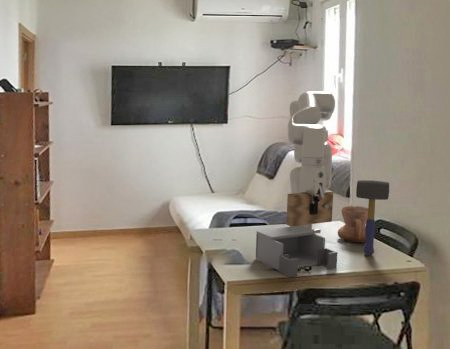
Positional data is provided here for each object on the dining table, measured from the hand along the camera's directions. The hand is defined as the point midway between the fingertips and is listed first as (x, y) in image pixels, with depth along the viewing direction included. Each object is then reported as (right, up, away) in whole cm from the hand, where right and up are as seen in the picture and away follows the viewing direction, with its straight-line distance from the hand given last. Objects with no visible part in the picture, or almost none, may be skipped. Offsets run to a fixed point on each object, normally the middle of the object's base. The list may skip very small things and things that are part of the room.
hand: (310, 212), depth 201 cm
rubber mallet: (+27, -19, +23) cm, 40 cm away
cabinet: (-4, -20, +10) cm, 23 cm away
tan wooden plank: (0, -4, +1) cm, 4 cm away
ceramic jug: (+26, -15, +44) cm, 54 cm away
